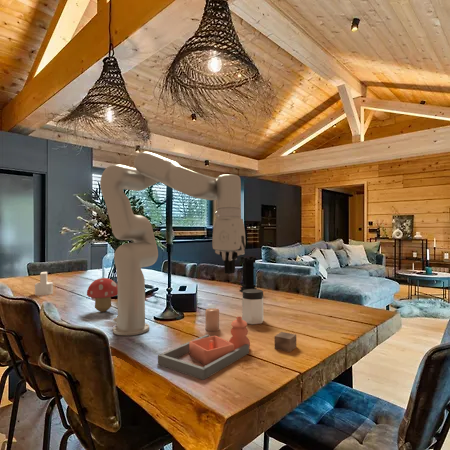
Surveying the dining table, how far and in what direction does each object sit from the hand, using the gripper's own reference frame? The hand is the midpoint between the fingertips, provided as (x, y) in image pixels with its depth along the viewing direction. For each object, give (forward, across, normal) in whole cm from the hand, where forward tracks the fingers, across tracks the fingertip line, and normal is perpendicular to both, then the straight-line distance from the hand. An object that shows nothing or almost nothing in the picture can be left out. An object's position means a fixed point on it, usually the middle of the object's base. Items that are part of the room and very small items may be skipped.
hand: (229, 273), depth 103 cm
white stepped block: (+22, -134, +4) cm, 136 cm away
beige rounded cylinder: (+23, -16, +10) cm, 29 cm away
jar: (+23, -9, +27) cm, 37 cm away
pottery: (+23, +2, -6) cm, 24 cm away
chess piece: (+23, -43, +76) cm, 91 cm away
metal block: (+23, +14, +9) cm, 29 cm away
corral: (+23, 0, -12) cm, 26 cm away
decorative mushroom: (+23, -70, +1) cm, 74 cm away
